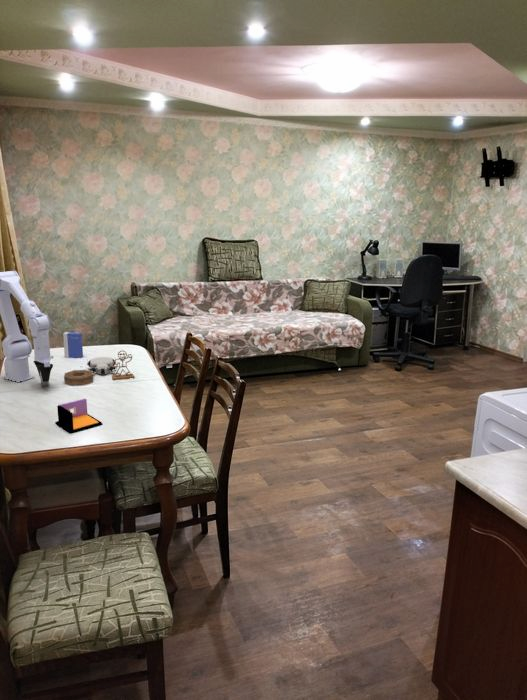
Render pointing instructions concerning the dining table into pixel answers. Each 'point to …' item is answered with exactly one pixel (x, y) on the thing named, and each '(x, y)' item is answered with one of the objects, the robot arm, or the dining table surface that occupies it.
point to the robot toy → (101, 365)
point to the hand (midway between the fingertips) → (44, 379)
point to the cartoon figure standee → (126, 375)
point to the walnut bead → (78, 377)
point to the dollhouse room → (75, 417)
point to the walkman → (73, 345)
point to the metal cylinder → (43, 384)
